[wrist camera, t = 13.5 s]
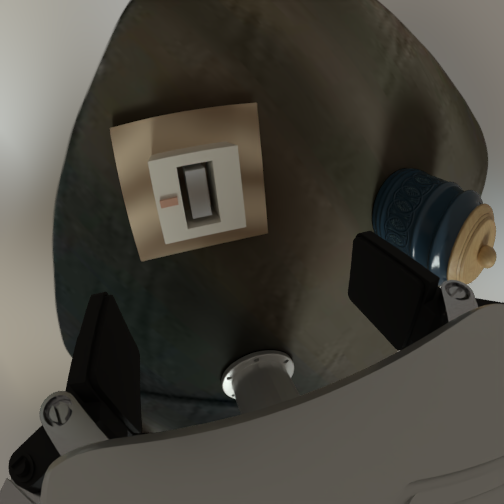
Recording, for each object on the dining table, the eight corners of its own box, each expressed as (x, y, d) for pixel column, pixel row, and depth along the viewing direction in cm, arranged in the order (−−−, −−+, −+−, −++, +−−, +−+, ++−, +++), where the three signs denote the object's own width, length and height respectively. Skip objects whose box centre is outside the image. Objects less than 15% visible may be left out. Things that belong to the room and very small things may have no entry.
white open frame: (233, 209, 28) (247, 228, 23) (165, 223, 26) (165, 246, 22) (224, 141, 25) (238, 145, 20) (151, 154, 23) (147, 162, 19)
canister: (369, 171, 32) (483, 222, 17) (428, 162, 35) (522, 200, 20) (367, 256, 39) (451, 327, 24) (422, 235, 41) (499, 286, 26)
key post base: (263, 228, 32) (283, 251, 26) (142, 255, 29) (138, 284, 24) (252, 103, 25) (273, 99, 20) (112, 128, 22) (98, 129, 17)
